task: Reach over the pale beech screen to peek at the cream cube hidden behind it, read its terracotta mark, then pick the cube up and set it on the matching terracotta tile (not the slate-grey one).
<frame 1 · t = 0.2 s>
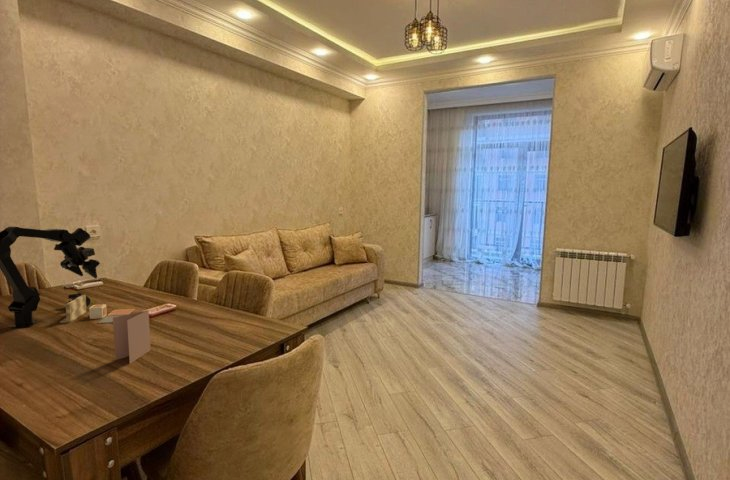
hand: (89, 276, 194), 15 cm above the table, tool tilted 30°, fingers open, 9 cm apart
beech screen: (77, 316, 179), on the table
greeting card: (136, 357, 138), on the table
slate tile: (113, 319, 176), on the table
terracotta tile: (121, 312, 185), on the table
end cap: (80, 308, 193), on the table
marked cube: (98, 316, 180), on the table
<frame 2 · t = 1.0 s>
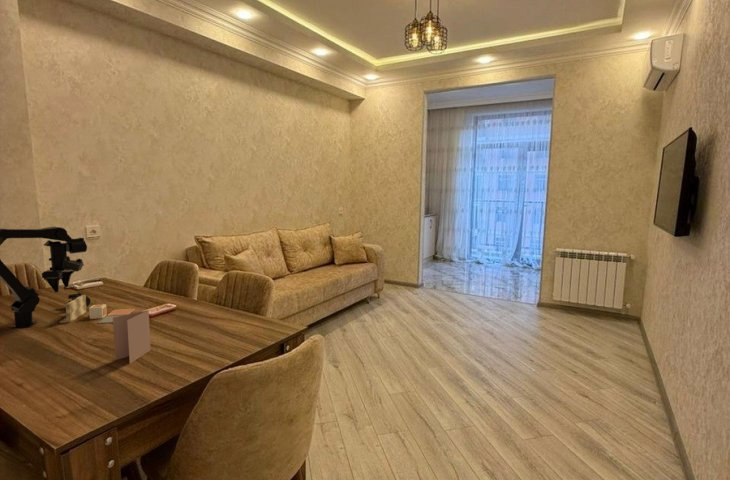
hand: (61, 289, 177), 12 cm above the table, tool pointing down, fingers open, 9 cm apart
nothing on the table moved.
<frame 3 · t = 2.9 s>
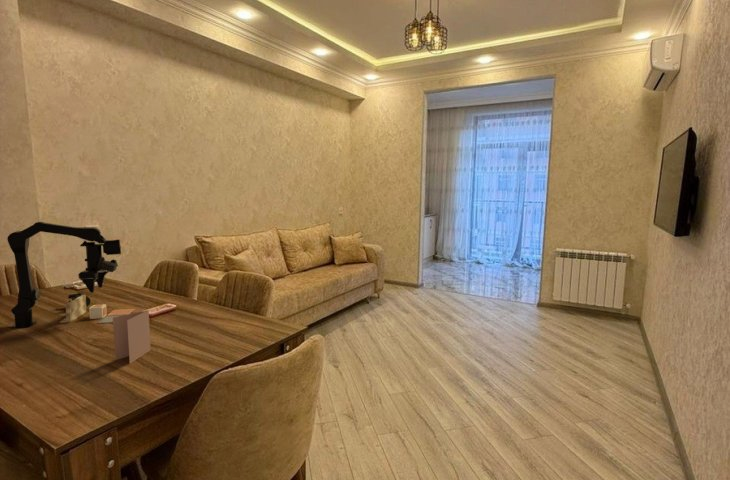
hand: (96, 290, 178), 12 cm above the table, tool pointing down, fingers open, 9 cm apart
nothing on the table moved.
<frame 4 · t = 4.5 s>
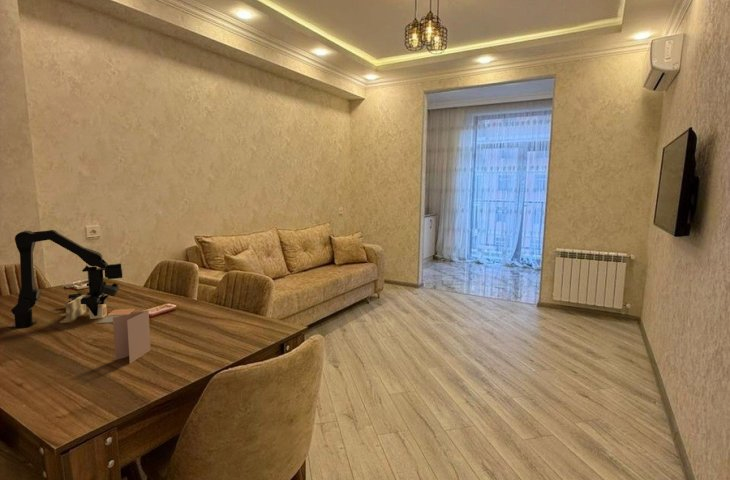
hand: (98, 313, 179), 1 cm above the table, tool pointing down, fingers closed on marked cube, 5 cm apart
marked cube: (98, 316, 180), on the table, touching gripper
everything else where it was.
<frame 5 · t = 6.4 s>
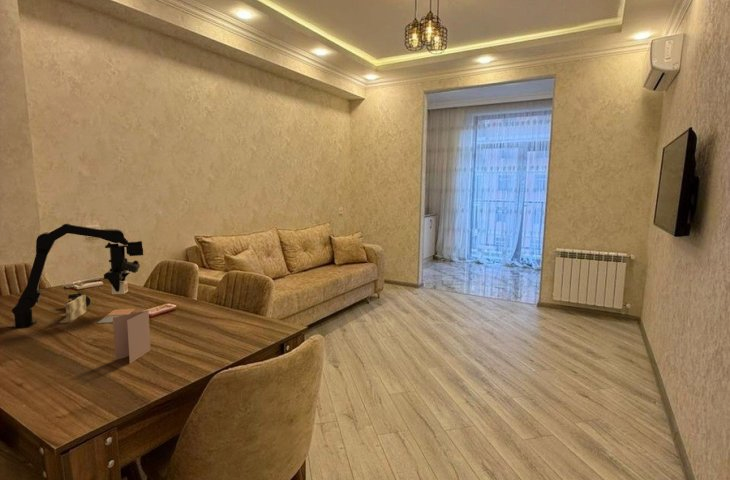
hand: (119, 290, 184), 11 cm above the table, tool pointing down, fingers closed on marked cube, 5 cm apart
marked cube: (120, 292, 184), point 10 cm above the table, touching gripper
everything else where it was.
when the fingers open (3 cm above the table, at t = 8.1 s): marked cube drops 2 cm, resting on terracotta tile.
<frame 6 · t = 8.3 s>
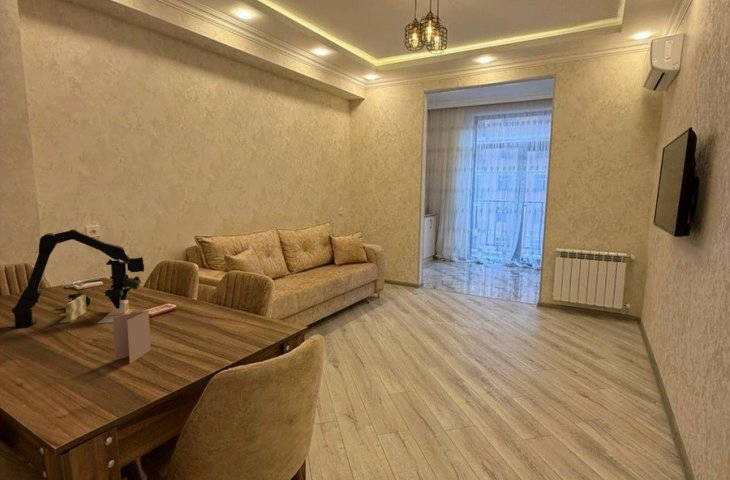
hand: (120, 306, 185), 3 cm above the table, tool pointing down, fingers open, 7 cm apart
marked cube: (121, 312, 185), resting on terracotta tile
everything else where it was.
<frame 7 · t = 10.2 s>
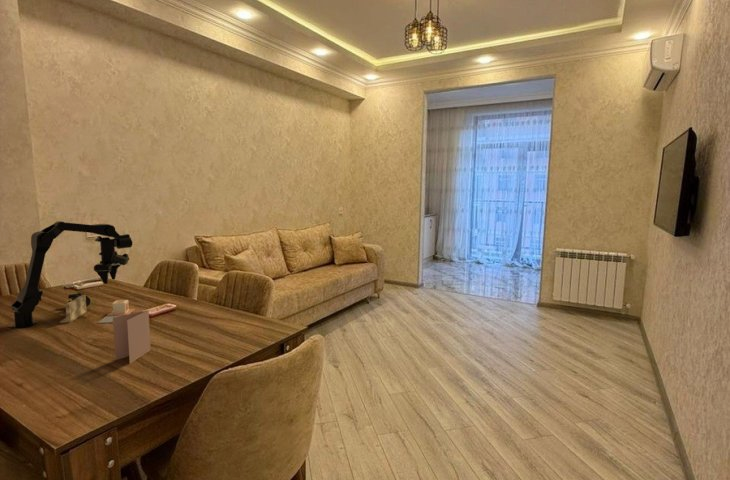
hand: (109, 281, 193), 13 cm above the table, tool pointing down, fingers open, 9 cm apart
nothing on the table moved.
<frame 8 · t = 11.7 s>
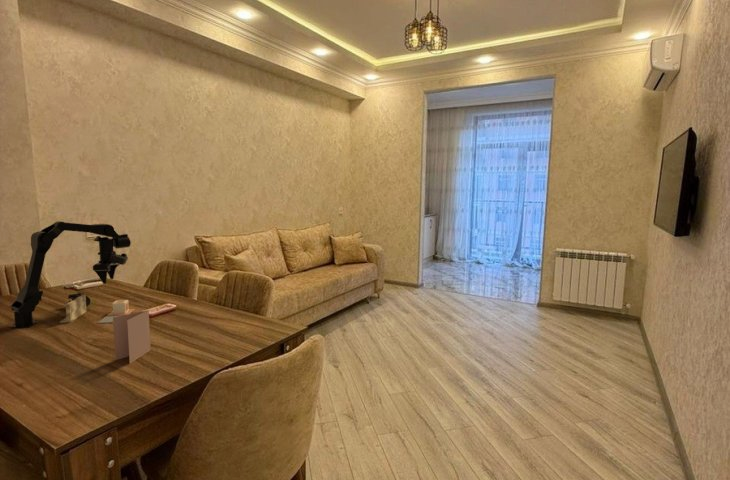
hand: (108, 281, 194), 13 cm above the table, tool pointing down, fingers open, 9 cm apart
nothing on the table moved.
at the end: marked cube inside the target area on the terracotta tile (0.0 cm from its centre), point 0.4 cm above the terracotta tile's base; marked cube tilted 0°; the gripper is holding nothing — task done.
